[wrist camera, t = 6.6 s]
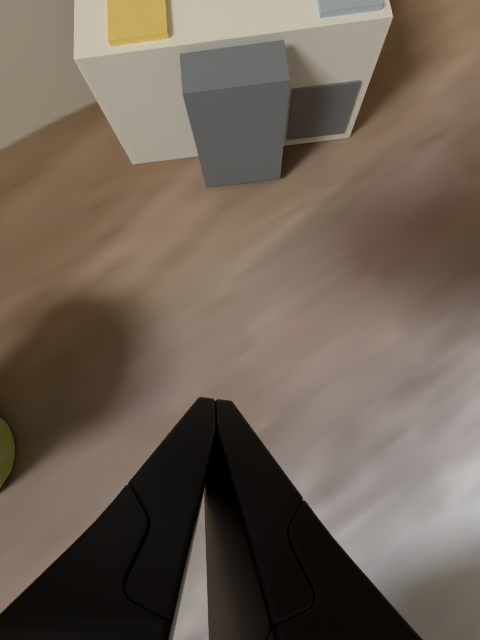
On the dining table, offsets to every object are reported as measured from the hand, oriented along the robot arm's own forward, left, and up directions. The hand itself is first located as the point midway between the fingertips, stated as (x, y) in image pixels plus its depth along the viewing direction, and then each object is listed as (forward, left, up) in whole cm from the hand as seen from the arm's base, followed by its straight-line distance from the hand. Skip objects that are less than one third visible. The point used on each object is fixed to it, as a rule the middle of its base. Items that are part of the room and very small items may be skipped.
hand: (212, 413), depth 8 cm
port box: (+19, -13, -13) cm, 26 cm away
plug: (+16, -11, -12) cm, 23 cm away
